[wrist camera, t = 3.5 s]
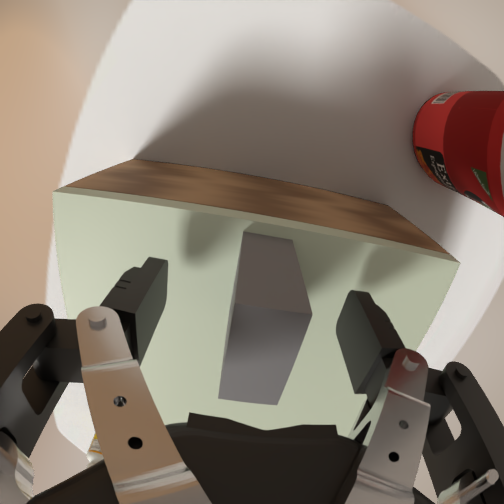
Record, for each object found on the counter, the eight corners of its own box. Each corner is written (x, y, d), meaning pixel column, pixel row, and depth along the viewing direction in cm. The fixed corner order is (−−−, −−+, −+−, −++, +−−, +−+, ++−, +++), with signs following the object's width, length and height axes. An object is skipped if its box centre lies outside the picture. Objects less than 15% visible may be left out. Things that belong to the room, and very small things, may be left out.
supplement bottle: (105, 414, 35) (85, 465, 26) (136, 431, 36) (121, 483, 27) (96, 424, 36) (78, 470, 28) (124, 439, 38) (110, 486, 29)
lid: (450, 254, 13) (517, 318, 8) (348, 431, 20) (361, 493, 14) (64, 186, 12) (-23, 231, 7) (97, 396, 19) (71, 456, 13)
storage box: (388, 205, 21) (449, 253, 13) (330, 357, 28) (348, 430, 20) (132, 159, 20) (65, 185, 12) (131, 327, 27) (97, 395, 19)
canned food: (396, 162, 20) (490, 202, 10) (424, 74, 17) (523, 63, 7) (461, 198, 21) (547, 249, 11) (486, 119, 18) (579, 138, 8)
